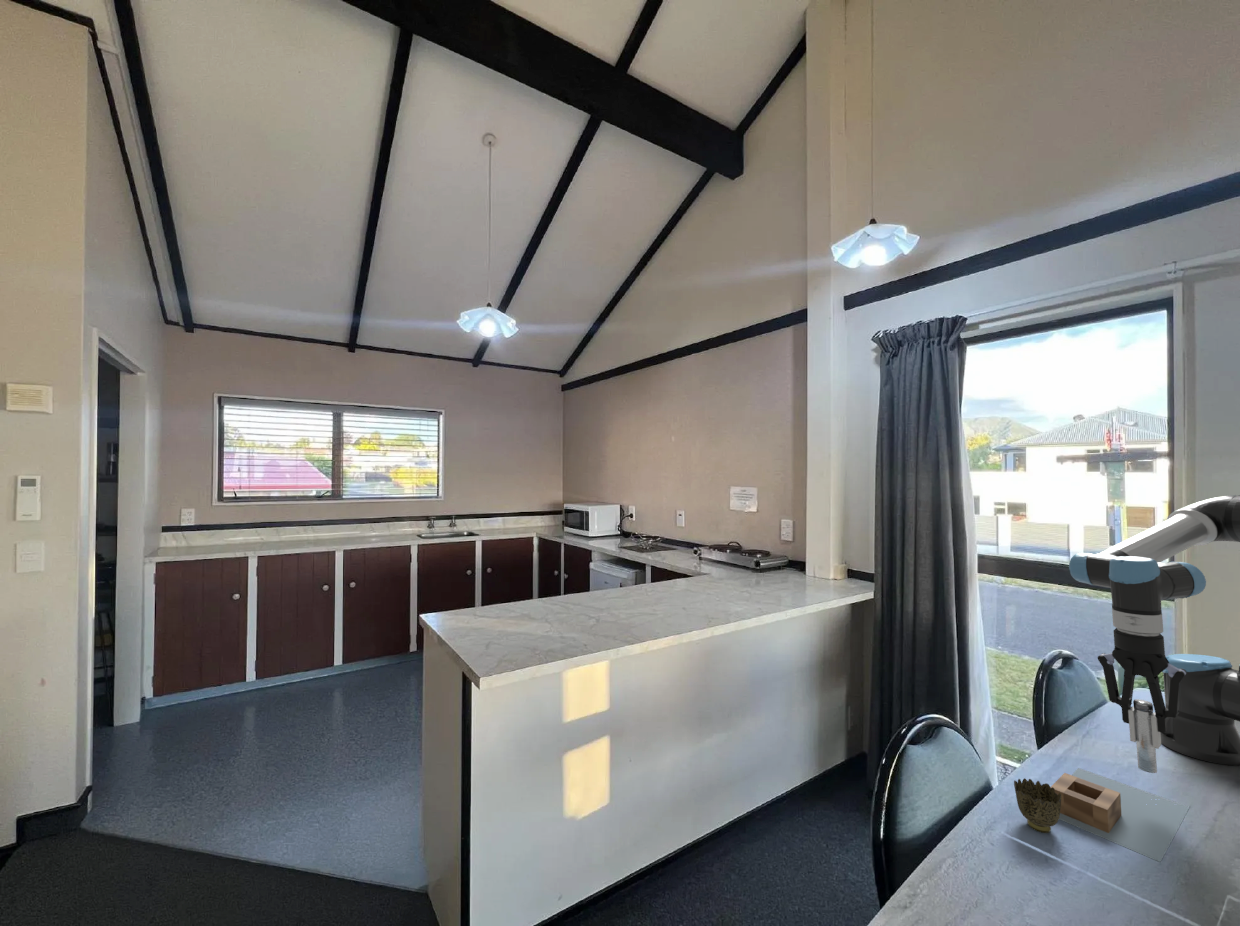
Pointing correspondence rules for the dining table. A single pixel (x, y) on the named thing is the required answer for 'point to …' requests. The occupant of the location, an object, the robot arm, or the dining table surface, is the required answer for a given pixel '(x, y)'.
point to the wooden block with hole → (1088, 802)
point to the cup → (1038, 804)
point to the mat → (1137, 818)
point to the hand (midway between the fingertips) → (1145, 742)
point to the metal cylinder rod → (1144, 736)
